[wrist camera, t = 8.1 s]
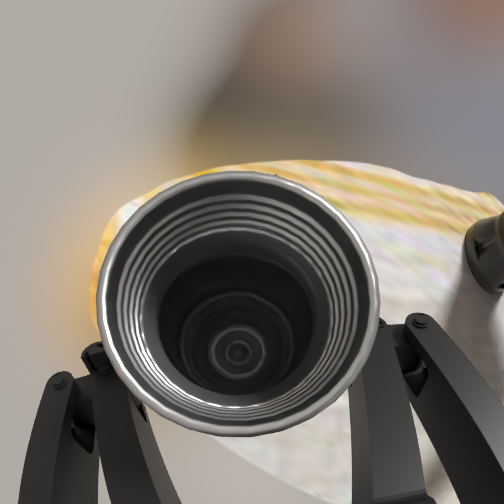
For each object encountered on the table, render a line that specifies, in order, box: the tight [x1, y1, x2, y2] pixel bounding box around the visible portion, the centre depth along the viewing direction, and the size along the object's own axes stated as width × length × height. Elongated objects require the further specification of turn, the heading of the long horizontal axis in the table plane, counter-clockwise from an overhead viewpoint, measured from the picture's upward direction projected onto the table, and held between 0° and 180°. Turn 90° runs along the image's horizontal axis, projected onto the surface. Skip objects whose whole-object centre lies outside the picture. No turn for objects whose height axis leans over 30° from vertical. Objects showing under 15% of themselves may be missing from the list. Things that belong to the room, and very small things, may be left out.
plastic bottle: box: [96, 171, 380, 437], centre depth 13 cm, size 6×7×20 cm
